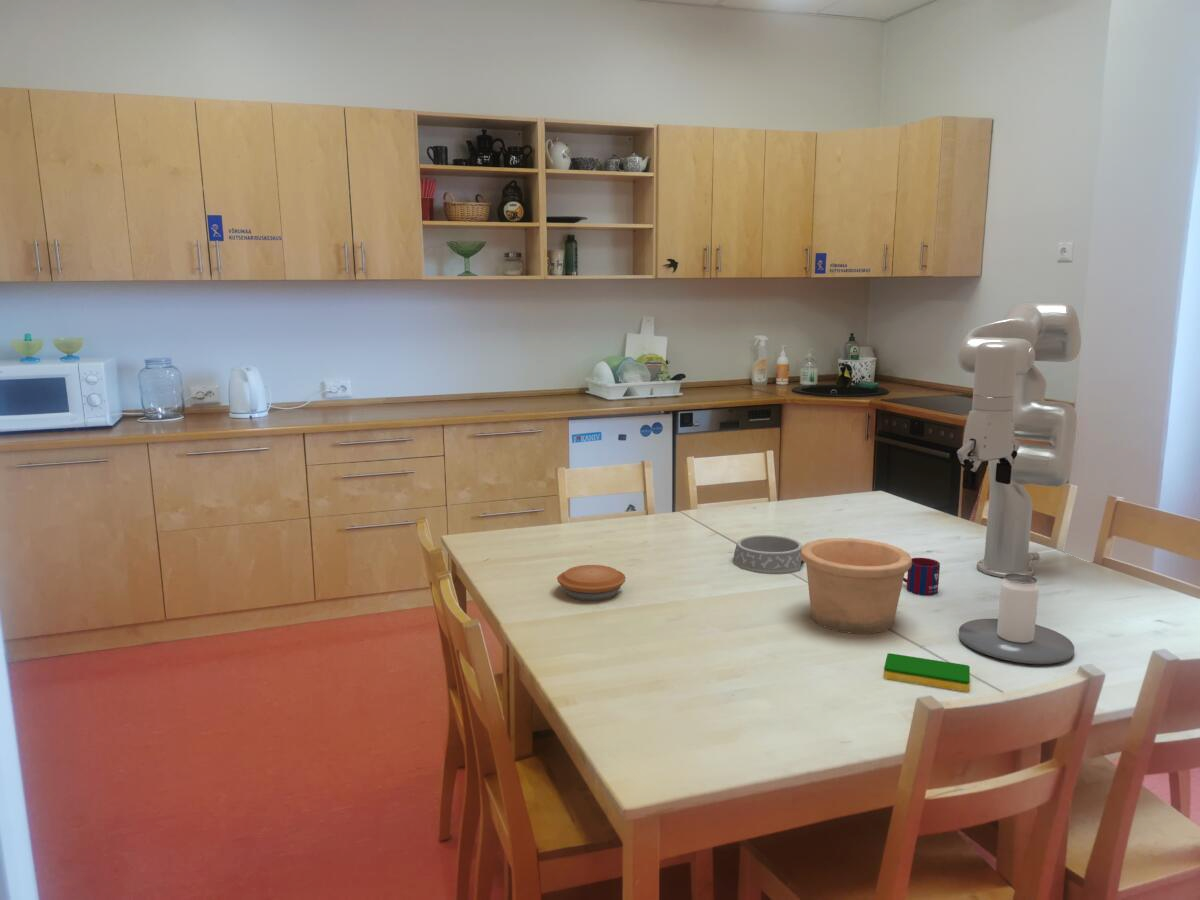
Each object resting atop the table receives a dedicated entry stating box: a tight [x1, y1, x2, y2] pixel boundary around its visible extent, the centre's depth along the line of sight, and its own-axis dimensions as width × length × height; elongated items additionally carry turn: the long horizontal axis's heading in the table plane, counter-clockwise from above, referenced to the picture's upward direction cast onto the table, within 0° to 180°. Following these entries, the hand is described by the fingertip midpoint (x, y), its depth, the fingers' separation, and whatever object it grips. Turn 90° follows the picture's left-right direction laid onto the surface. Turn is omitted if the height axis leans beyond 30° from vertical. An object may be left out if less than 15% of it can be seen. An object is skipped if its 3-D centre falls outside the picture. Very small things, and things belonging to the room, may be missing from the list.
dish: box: [958, 617, 1075, 665], centre depth 165 cm, size 20×20×1 cm
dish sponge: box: [883, 652, 971, 693], centre depth 151 cm, size 7×14×2 cm, turn 67°
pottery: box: [801, 537, 912, 634], centre depth 177 cm, size 22×22×14 cm
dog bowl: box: [732, 534, 803, 575], centre depth 215 cm, size 17×18×5 cm
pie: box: [556, 564, 626, 602], centre depth 194 cm, size 15×16×5 cm
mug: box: [903, 557, 941, 596], centre depth 196 cm, size 7×10×7 cm
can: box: [997, 573, 1039, 644], centre depth 164 cm, size 6×6×12 cm
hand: (986, 486), depth 176 cm, fingers open, 9 cm apart
